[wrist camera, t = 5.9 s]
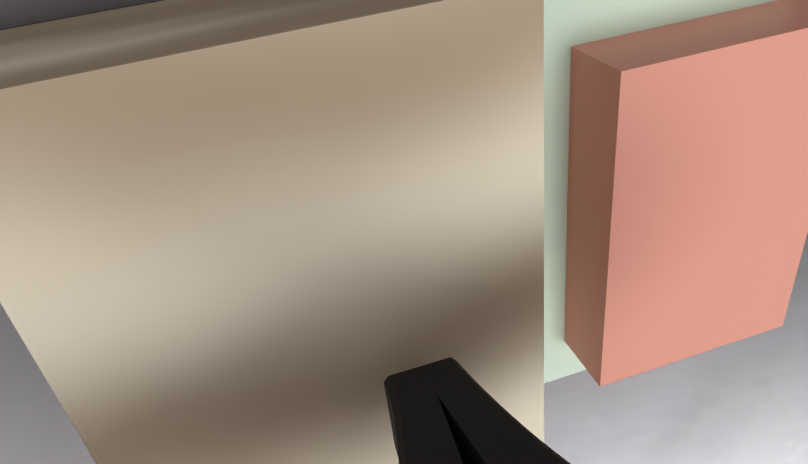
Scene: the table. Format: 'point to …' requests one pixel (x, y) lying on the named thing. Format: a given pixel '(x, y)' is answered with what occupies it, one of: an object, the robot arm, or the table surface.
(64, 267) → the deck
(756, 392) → the table surface
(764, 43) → the salmon pink block
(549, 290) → the mat
